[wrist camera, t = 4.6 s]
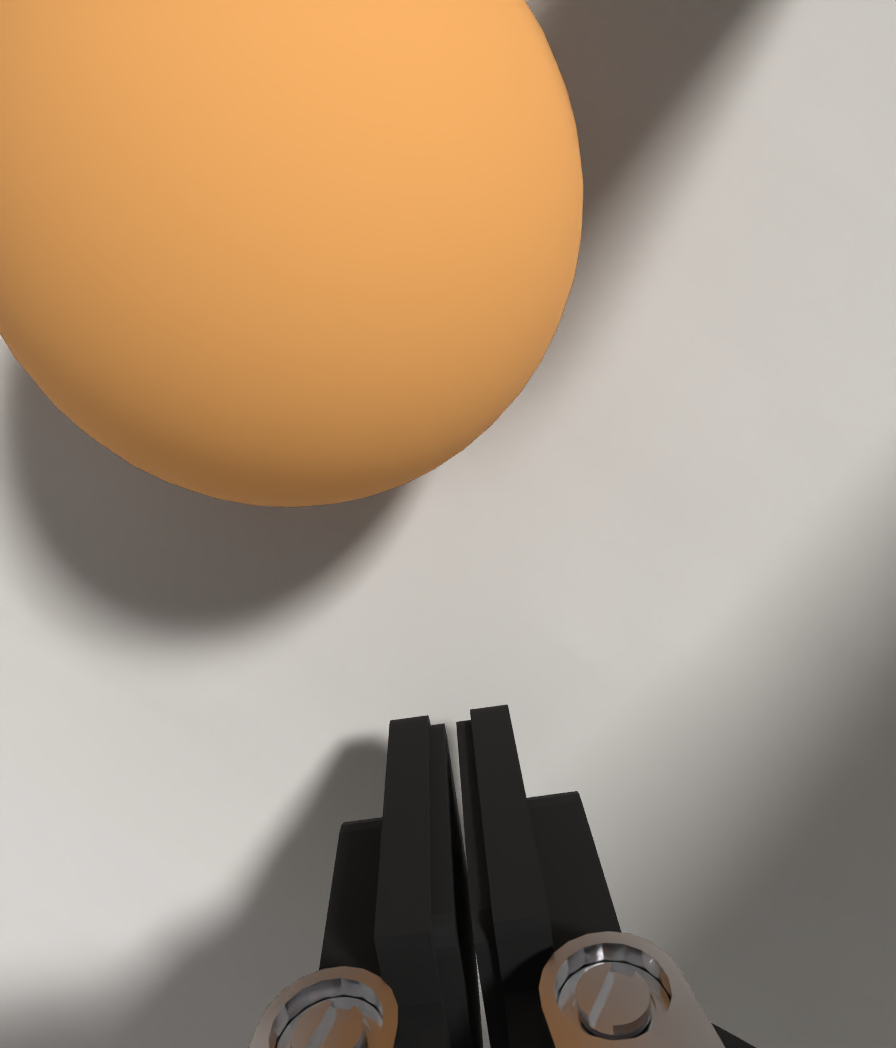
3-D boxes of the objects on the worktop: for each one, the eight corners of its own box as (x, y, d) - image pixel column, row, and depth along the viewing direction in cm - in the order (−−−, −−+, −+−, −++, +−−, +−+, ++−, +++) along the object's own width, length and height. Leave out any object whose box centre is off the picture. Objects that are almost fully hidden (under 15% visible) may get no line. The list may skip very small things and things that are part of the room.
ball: (-194, 524, 5) (178, 596, 10) (759, 258, 5) (612, 476, 10) (-299, -254, 6) (92, 198, 11) (489, -479, 6) (490, 88, 11)
